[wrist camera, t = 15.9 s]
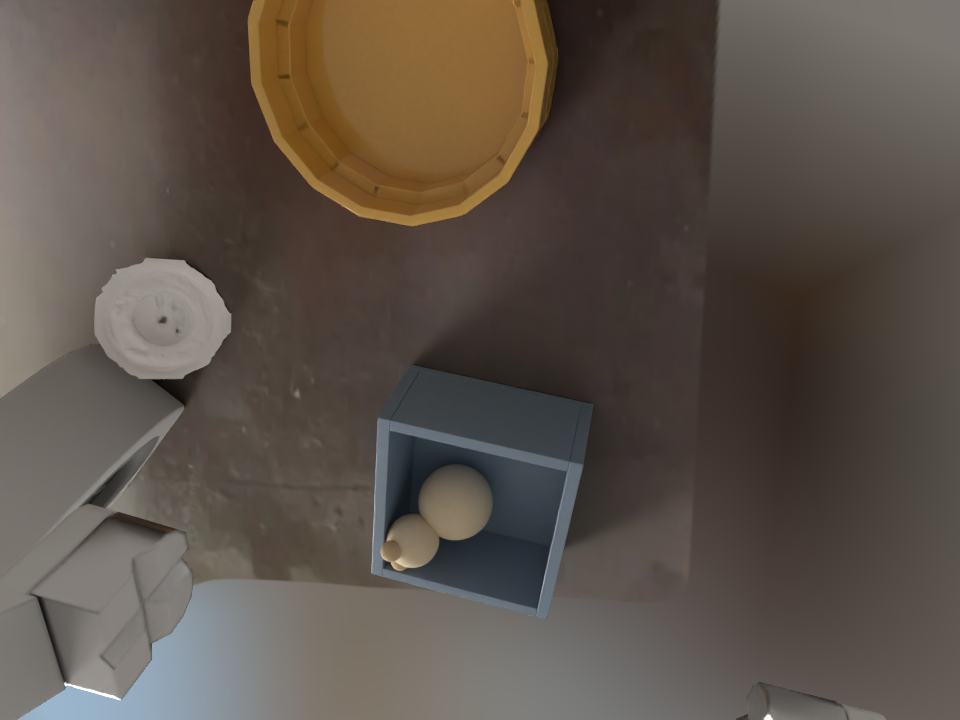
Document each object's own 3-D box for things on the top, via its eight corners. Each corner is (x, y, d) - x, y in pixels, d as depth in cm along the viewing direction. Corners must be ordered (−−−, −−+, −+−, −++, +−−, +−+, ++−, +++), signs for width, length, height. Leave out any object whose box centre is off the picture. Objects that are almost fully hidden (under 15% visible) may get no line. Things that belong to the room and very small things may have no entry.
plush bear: (503, 490, 46) (401, 583, 44) (512, 513, 51) (420, 599, 49) (453, 438, 49) (354, 524, 47) (465, 464, 53) (376, 544, 51)
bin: (593, 403, 46) (583, 464, 41) (559, 550, 53) (547, 620, 48) (411, 364, 48) (377, 417, 43) (401, 511, 55) (371, 573, 50)
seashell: (196, 275, 53) (81, 261, 47) (232, 265, 50) (111, 248, 44) (196, 381, 53) (80, 380, 47) (232, 378, 49) (111, 377, 43)
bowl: (581, -85, 33) (570, -91, 30) (534, 220, 41) (521, 247, 37) (284, -121, 36) (238, -130, 32) (293, 176, 43) (257, 197, 40)
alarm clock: (107, 514, 64) (-93, 713, 47) (36, 463, 62) (-195, 649, 46) (208, 377, 53) (-5, 571, 36) (125, 312, 52) (-135, 482, 35)
